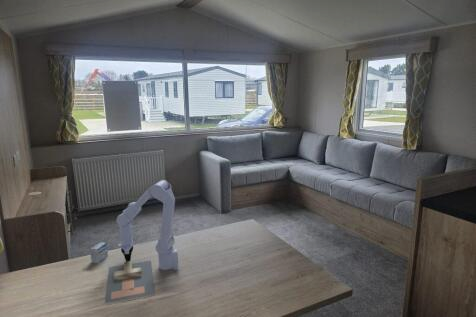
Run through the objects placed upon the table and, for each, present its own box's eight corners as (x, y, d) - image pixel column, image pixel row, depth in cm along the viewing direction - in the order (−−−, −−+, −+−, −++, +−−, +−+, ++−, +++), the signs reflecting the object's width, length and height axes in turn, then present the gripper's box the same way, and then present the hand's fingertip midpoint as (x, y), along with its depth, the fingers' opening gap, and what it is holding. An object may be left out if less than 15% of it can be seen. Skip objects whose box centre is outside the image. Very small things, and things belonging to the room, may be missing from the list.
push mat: (150, 262, 160) (150, 260, 160) (155, 295, 133) (155, 293, 133) (109, 269, 154) (109, 267, 153) (104, 305, 127) (104, 303, 126)
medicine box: (99, 265, 157) (97, 249, 155) (91, 264, 158) (89, 248, 156) (108, 257, 165) (107, 242, 163) (100, 256, 166) (99, 241, 164)
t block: (140, 263, 157) (140, 259, 156) (141, 275, 146) (141, 271, 145) (115, 267, 153) (114, 263, 152) (114, 280, 142) (113, 275, 142)
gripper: (118, 230, 161) (120, 255, 163) (117, 243, 147) (119, 269, 150) (132, 229, 163) (134, 252, 165) (132, 240, 149) (134, 266, 152)
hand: (128, 260), depth 158 cm, fingers closed
